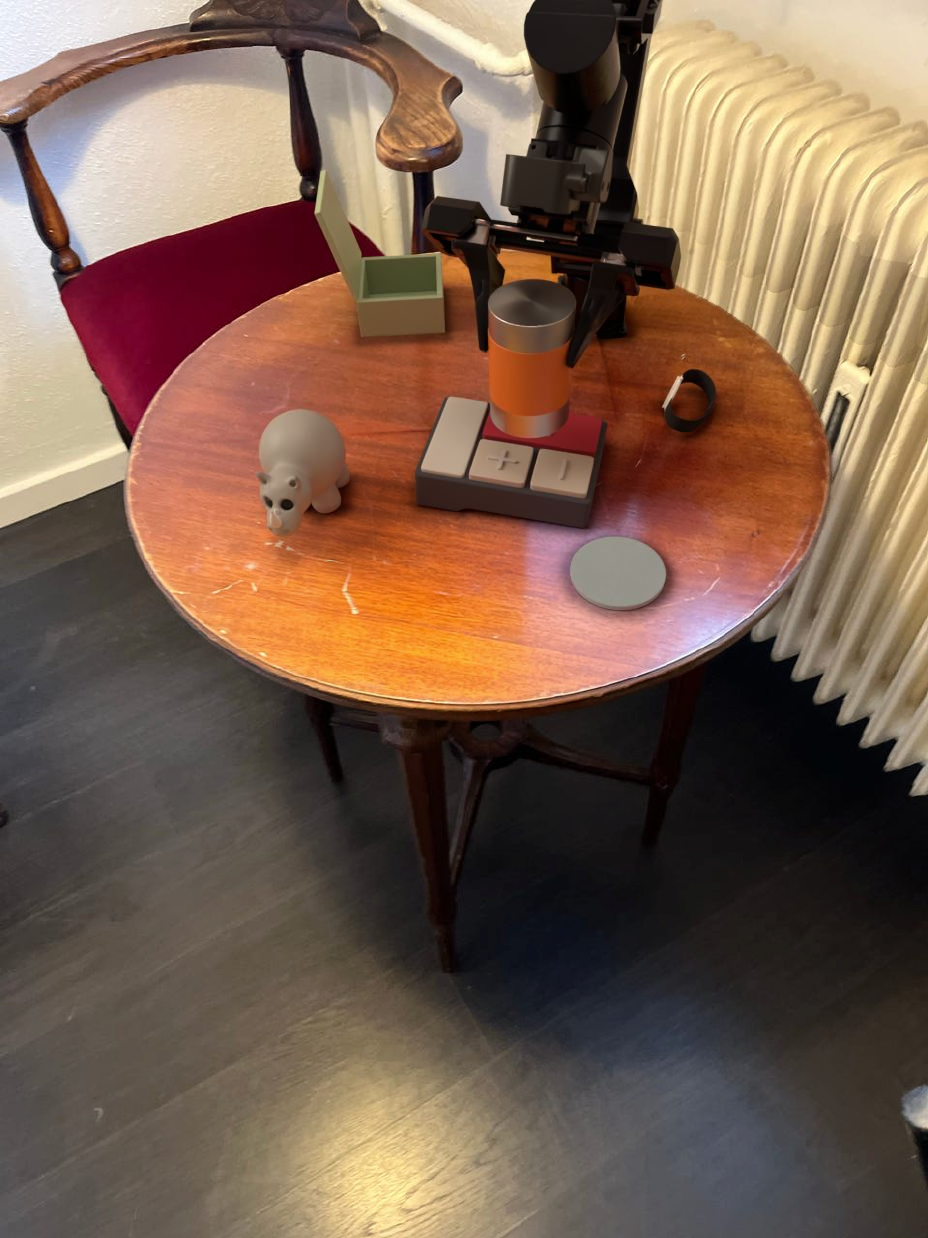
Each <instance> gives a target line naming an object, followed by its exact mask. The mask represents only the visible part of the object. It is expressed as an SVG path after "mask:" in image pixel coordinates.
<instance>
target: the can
mask: <svg viewBox="0 0 928 1238" xmlns="http://www.w3.org/2000/svg"><path fill="white" fill-rule="evenodd" d="M575 313H576V299H575V297H574V295H573V293H572V292H571V291H570V290H569V289H568V288H566V287H565V286H563V285H561V284H559V283H557V282H555V281H552V280H548V279H542V278H525V279H524V278H523V279H517V280H513V281H509V282H507V283H505V284H503V285H502V286H501V287H499V288H498V289H496V290H495V291H494V292H493V293H492V294H491V296H490V298H489V301H488V318H489V327H488V394H489V403H490V415H491V419H492V421H493V423H494V424H495V426H496V427H497V428H498V429H500V430H501V431H503V432H504V433H507V434H509V435H512V436H515V437H521V438H539V437H544V436H547V435H550V434H553V433H555V432H556V431H558V430H559V429H561V428H562V427H563V426H564V425H565V423H566V422H567V420H568V417H569V413H570V404H571V403H570V402H571V395H572V386H573V385H572V384H573V383H572V382H573V369H571V368H568V367H567V366H566V362H567V357H568V352H569V347H570V343H571V340H572V337H573V334H574V331H575Z"/></svg>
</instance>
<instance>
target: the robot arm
mask: <svg viewBox="0 0 928 1238" xmlns="http://www.w3.org/2000/svg"><path fill="white" fill-rule="evenodd" d="M663 1H664V0H534V1H533V2H532V3H531V6H530V8H529V9H528V11H527V12H526V15H525V17H524V22H523V38H524V39H523V40H524V44H525V49H526V51H527V56H528V59H529V62H530V67H531V70H532V74H533V76H534V81H535V85H536V89H537V92H538V95H539V98H540V99H541V101H542V106H541V110H540V115H539V120H538V125H537V128H536V134H535V137H534V138H532V137H531V138H530V143H529V144H528V147H527V151H526V155H518V154H510V153H506V154H505V158H504V159H505V160H504V167H503V169H504V170H503V177H502V183H501V184H502V185H501V186H502V187H501V193H500V202H499V205H500V206H501V207H505V208H507V210H508V212H509V214H510V215H511V216H513V217H514V216H515V217H517V220H516V222H514V221H506V220H499V219H492V218H491V217H490V215H489V213H487V211H486V209H485V208H484V206H483V205H482V203H481V202H480V201H477V200H470V199H462V198H457V197H447V196H440V195H436V196H435V197H434V199H432V201H431V202H430V203H429V204H428V205H427V206H426V208H425V210H424V214H423V219H422V224H421V228H420V232H421V233H422V234H423V235H424V236H425V237H426V239H428V240H429V242H430V243H431V244H432V245H433V246H434V247H435V249H436V250H438V252H439V253H441V255H442V254H443V255H445V256H448V257H451V258H458V259H459V260H460V261H461V262H462V264H463V265H464V266H465V267H466V268H467V270H468V273H469V277H470V282H471V286H472V292H473V299H474V311H475V319H476V330H477V331H476V332H477V342H478V349H479V351H480V352H481V353H484V354H487V353H489V351H488V327H489V318H488V301H489V298H490V296H491V294H492V293H493V292H494V291H495V290H496V289H498V288H499V287H501V286H502V285H504V281H505V274H506V268H505V267H504V266H503V264H502V263H501V262H500V260H499V259H498V256H499V255H500V254H501V250H509V251H515V252H523V253H529V254H535V255H543V256H550V272H551V274H552V275H553V274H554V275H557V274H561V275H558V276H557V280H556V281H557V282H556V283H559V284H561V285H563V286H565V287H566V288H568V289H569V290H570V291H571V292H572V293H573V295H574V297H575V299H576V313H575V331H574V334H573V337H572V340H571V343H570V347H569V352H568V357H567V362H566V366H567V367H568V368H571V369H572V370H573V369H574V368H575V366H576V365H577V363H578V362H579V360H580V359H581V357H582V356H583V354H584V353H585V351H586V349H588V347H589V345H590V344H591V342H592V340H593V339H594V337H595V336H596V338H598V339H599V338H615V337H626V336H627V334H628V328H627V324H626V321H625V317H626V308H627V298H628V296H629V297H638V296H639V295H640V292H641V287H646V288H652V289H659V290H665V291H669V290H675V287H676V283H677V280H678V275H679V271H680V268H681V266H680V265H681V262H682V253H681V252H682V251H681V244H680V238H679V236H678V235H677V232H676V230H675V229H674V228H673V227H668V226H667V227H666V226H661V225H653V224H644V219H643V218H639V214H640V213H639V212H640V203H639V196H638V191H637V189H636V186H635V183H634V180H633V177H632V175H631V172H630V168H631V162H632V158H633V157H632V156H633V151H634V145H635V138H636V133H637V127H638V121H639V115H640V108H641V102H642V96H643V90H644V84H645V79H646V74H647V67H648V62H649V61H648V60H649V54H650V50H651V49H650V48H651V43H652V37H653V34H654V32H655V29H656V27H657V25H658V22H659V21H660V18H661V13H662V7H663ZM528 238H529V239H528Z"/></svg>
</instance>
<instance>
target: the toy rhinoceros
mask: <svg viewBox="0 0 928 1238" xmlns="http://www.w3.org/2000/svg"><path fill="white" fill-rule="evenodd" d="M346 456H347V454H346V444H345V441H344V438H343V436H342V434H341V431H340V430H339V429H338V427H337V425H335V424H334V422H332V420H330V419H329V418H328V417H327V416H325V415H324V414H322V413H320V412H317V411H314V410H312V409H311V410H310V409H305V408H303V409H302V408H298V409H291V410H287V411H285V412H283V413H280V414H278V415H277V416H276V417H274V418H273V419H272V420H271V421H270V422H269V423H268V424H267V425H266V427H265V428H264V430H263V432H262V434H261V437H260V440H259V443H258V459H259V464H260V466H261V469H262V471H257V472H256V473H255V474H256V478H257V479H258V481H259V483H260V486H259V498H260V501H261V503H262V504H263V506H264V508H265V509H266V525H267V529H268V530H269V531H270V532H271V533H272V534H273V535H275V536H277V537H279V538H288V537H291V536H293V535H295V534H297V532H298V531H299V530H300V528H301V525H302V518H303V515H304V513H305V512H306V511H307V510H308V508H309V507H310V506H311V505H312V507H313V508H314V510H315V511H316V512H318V513H321V514H330V513H332V512H335V511H336V510H337V509H338V508H339V507H340V506H341V505H342V504H341V503H342V496H341V493H340V490H339V489H341V488H343V487H345V486H346V485H347V484H348V483H349V482H350V479H351V471H350V469H349V468H350V467H349V466H348V464H347V463H346V458H347V457H346Z"/></svg>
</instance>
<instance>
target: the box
mask: <svg viewBox="0 0 928 1238" xmlns="http://www.w3.org/2000/svg"><path fill="white" fill-rule="evenodd" d="M442 259H443V258H442V253H441V252H438V253H437V252H436V253H423V254H421V253H419V254H402V255H400V254H399V255H383V256H382V255H381V256H366V257H361V267H360V281H359V294H358V298H356V299H355V300H356V308H357V309H356V311H357V314H358V315H357V317H358V323H359V324H358V325H359V331H360V336H361V338H373V337H388V336H390V337H391V336H392V337H393V336H409V335H411V336H412V335H427V334H445V333H446V321H445V319H446V318H445V317H446V316H445V296H444V294H445V292H444V276H443V275H444V274H443V260H442Z"/></svg>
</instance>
